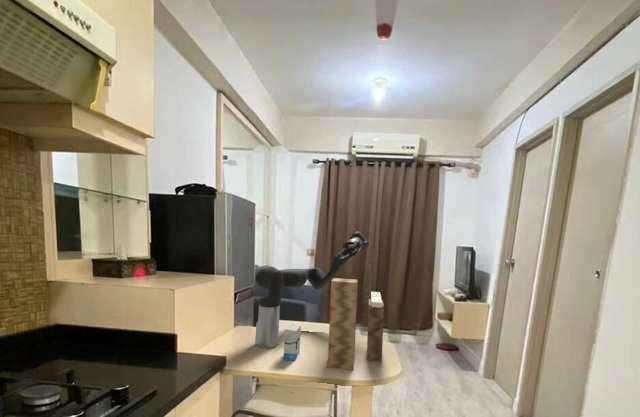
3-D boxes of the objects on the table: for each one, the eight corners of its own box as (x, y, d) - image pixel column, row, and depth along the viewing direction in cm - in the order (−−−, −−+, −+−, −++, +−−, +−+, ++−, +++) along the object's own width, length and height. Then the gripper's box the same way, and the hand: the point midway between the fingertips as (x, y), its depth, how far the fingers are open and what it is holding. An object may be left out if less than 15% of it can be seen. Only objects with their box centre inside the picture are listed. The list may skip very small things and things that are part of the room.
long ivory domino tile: (371, 306, 135) (371, 301, 135) (371, 296, 157) (371, 291, 157) (381, 307, 135) (382, 302, 135) (379, 296, 156) (379, 292, 156)
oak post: (326, 367, 128) (330, 282, 130) (330, 356, 139) (333, 277, 141) (353, 369, 127) (356, 283, 128) (354, 358, 138) (357, 279, 139)
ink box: (294, 361, 133) (296, 330, 133) (282, 359, 134) (284, 329, 134) (300, 353, 141) (301, 324, 142) (288, 351, 142) (290, 323, 143)
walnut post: (366, 360, 137) (368, 305, 138) (367, 349, 149) (368, 299, 150) (381, 361, 136) (383, 306, 137) (380, 350, 148) (382, 300, 149)
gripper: (368, 246, 164) (361, 254, 149) (344, 260, 168) (335, 269, 153) (360, 233, 165) (352, 239, 149) (336, 247, 169) (326, 255, 154)
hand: (344, 254), depth 151 cm, fingers open, 8 cm apart
